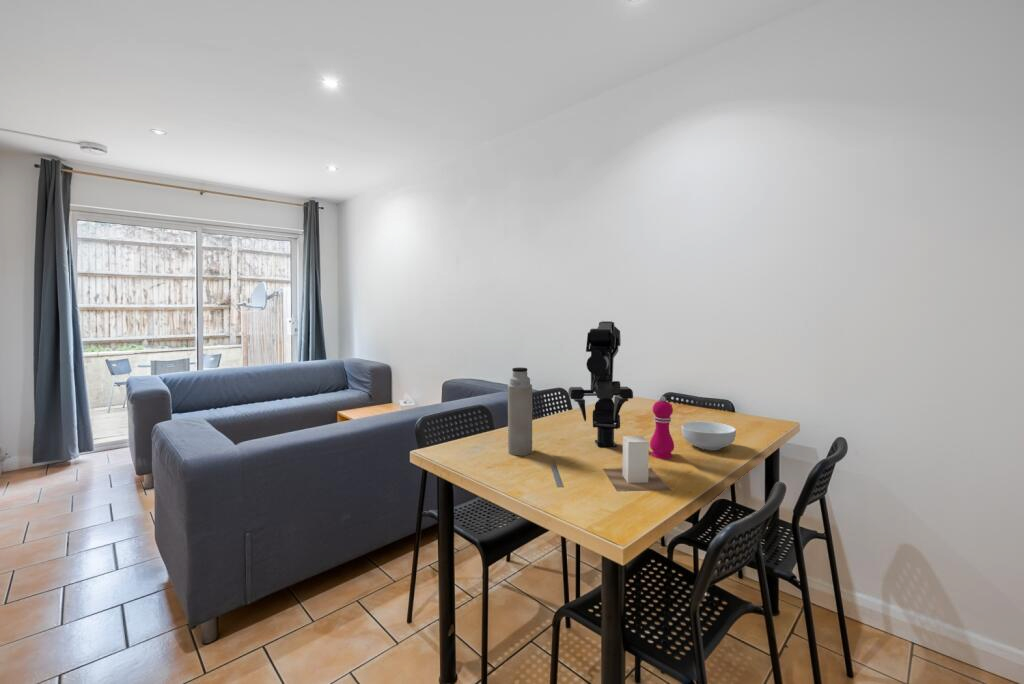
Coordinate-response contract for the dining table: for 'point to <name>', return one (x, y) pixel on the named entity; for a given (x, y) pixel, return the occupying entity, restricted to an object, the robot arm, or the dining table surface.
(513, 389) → the thermos bottle
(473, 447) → the dining table surface
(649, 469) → the board
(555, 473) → the flat grey strip
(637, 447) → the cover
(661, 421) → the pepper mill
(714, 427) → the cereal bowl
